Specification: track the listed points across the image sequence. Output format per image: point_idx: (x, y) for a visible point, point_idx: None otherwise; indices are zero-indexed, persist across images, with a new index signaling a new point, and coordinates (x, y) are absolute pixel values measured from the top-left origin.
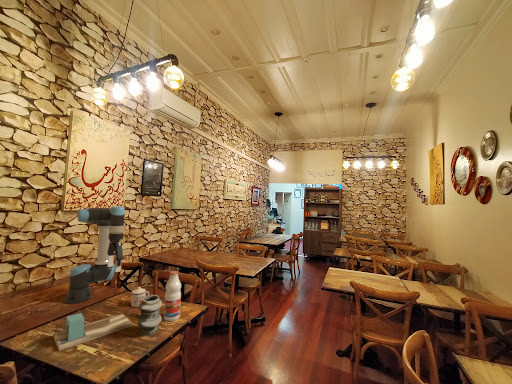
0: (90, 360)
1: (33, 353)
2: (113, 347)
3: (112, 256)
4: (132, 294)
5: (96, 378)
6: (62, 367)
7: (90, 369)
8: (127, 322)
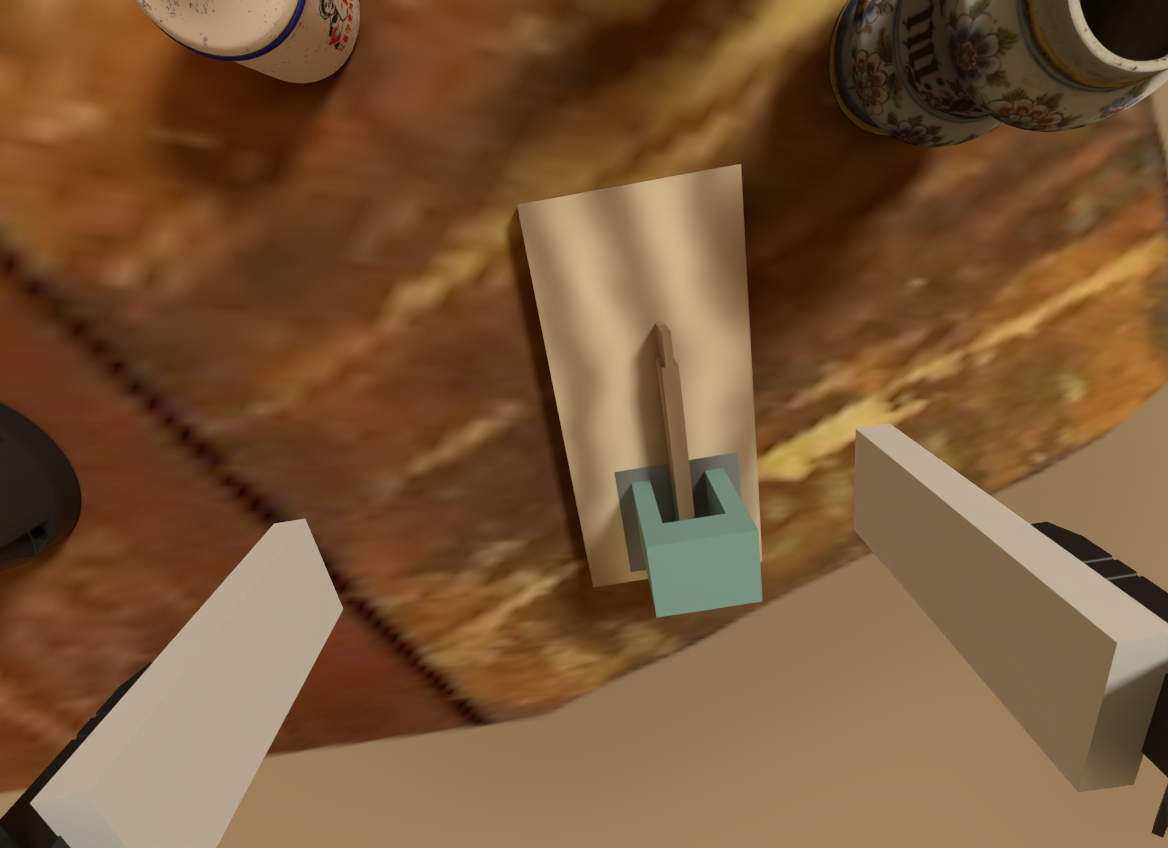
0: (956, 431)
1: (698, 626)
2: (925, 320)
3: (131, 791)
4: (263, 52)
5: (1123, 415)
6: None
7: (1032, 433)
8: (715, 196)
